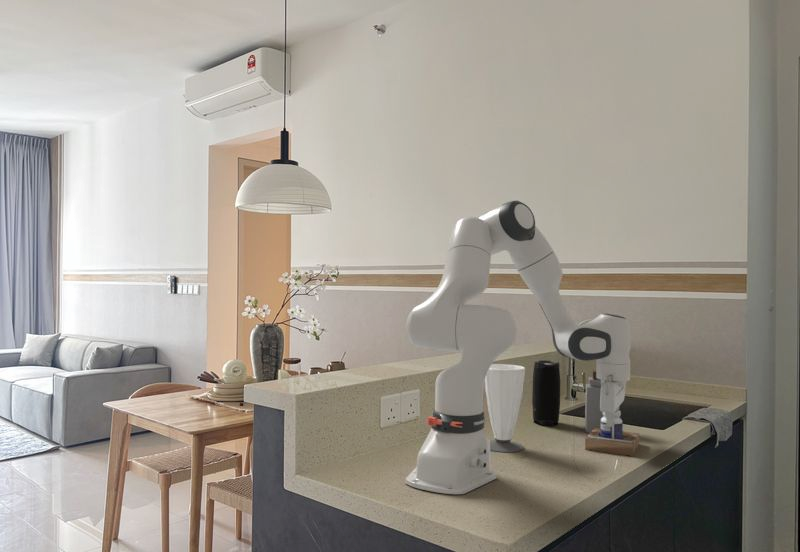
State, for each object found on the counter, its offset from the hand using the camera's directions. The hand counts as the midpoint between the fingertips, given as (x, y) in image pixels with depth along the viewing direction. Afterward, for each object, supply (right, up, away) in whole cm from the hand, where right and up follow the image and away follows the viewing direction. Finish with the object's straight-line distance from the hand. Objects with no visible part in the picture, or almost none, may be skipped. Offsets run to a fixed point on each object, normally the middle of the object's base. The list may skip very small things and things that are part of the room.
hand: (612, 423), depth 165 cm
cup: (-30, -6, -2) cm, 31 cm away
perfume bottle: (+2, -7, +18) cm, 19 cm away
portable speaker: (-12, -7, +26) cm, 30 cm away
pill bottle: (0, -7, 0) cm, 7 cm away
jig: (0, -6, 0) cm, 6 cm away
